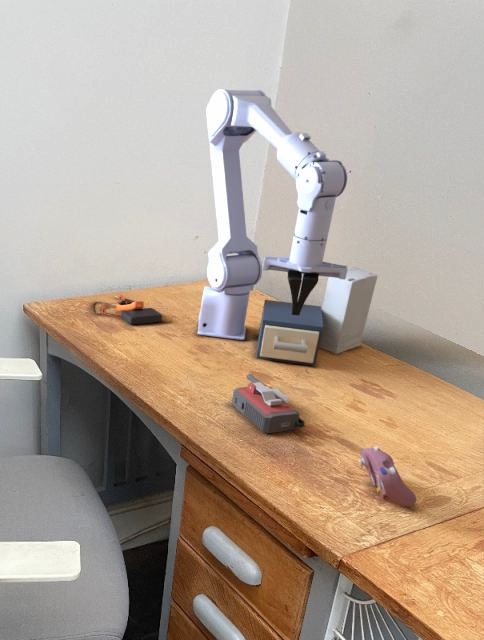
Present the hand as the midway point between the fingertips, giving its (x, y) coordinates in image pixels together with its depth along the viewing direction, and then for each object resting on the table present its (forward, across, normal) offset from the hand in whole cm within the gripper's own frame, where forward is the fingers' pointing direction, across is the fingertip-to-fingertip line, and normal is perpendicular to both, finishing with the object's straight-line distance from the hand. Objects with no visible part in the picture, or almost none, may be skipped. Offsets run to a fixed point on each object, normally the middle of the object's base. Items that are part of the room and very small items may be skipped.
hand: (295, 313), depth 142 cm
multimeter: (+10, -35, +19) cm, 41 cm away
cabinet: (+10, 0, +8) cm, 12 cm away
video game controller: (+10, +14, -43) cm, 47 cm away
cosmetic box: (+10, +10, +14) cm, 20 cm away
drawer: (+9, 0, +3) cm, 10 cm away
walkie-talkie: (+10, -4, -21) cm, 24 cm away
